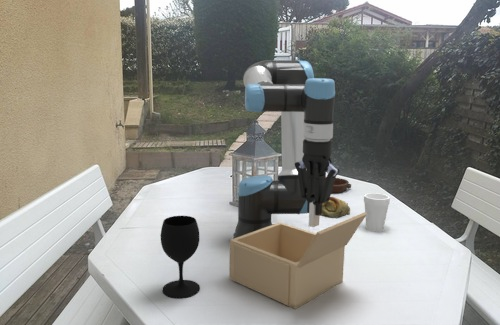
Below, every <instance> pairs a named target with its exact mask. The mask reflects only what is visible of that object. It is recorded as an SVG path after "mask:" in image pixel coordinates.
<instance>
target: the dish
mask: <svg viewBox="0 0 500 325" xmlns="http://www.w3.org/2000/svg"><path fill="white" fill-rule="evenodd" d="M326 177H327V176H326ZM326 177H325V179H324V184H325V181H326ZM351 188H352V184H351V183H350V182H349V180H347V179H345V178H340V177H336V178H335V181H334V185H333V188H332V192H331V194H336V193H339V194H340V193H342V192H344V191H346V189H351Z"/></svg>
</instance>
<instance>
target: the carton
mask: <svg viewBox="0 0 500 325" xmlns="http://www.w3.org/2000/svg"><path fill="white" fill-rule="evenodd" d="M316 234H317V232H316V233H315V232H313V231H309V230H307V229H302V228H299V227H296V226H293V225H289V224H287V223H284V222H277V223H274V224H273V223H272V225H271V226H268V227H265V228H262V229H259V230H257V231H254V232H251V233H248V234H245V235H243V236H240V237H237V238H234V239H233V238H232V239H229V271H228V272H229V276H228V277H229V279H230V280H231V281H234V282H236V283H237V284H239V285H242V286H245V287H246V288H249V289H250V290H253V291H255V292H256V293H257V292H258V293H259V294H261V295H264V296H265V297H267V298H270V299H272V300H275V301H276V302H279V303H281V304H283V305H286V306H288V307H289V308H292V309H294V310H296V309H298V308H300V307H301V306H304V305H305V304H307V303H309V302H310V301H312V300H314V299H315V298H317V297H319V296H320V295H322V294H324V293H325V292H327V291H329V290H331V289H333V288H335V287H337V285H339V284H341V283H343V281H344V266H345V265H344V264H345V247H346V245H345V246H343V247H341V248H339V249H337V250H335V251H333V252H331V253H329V254H327V255H325V256H323V257H321V258H319V259H316V260H314V261H312V262H310V263H308V264H306V265H304V266H302V267H300V268H299V267H298V266H297V265H298V264H299V262H300V260H301V259H302V257H303V255H304V254H305V252H306V250H307V249H308V247H309V245H310V244H311V242H312V240H313V239H314V237H315V235H316Z"/></svg>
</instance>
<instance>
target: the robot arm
mask: <svg viewBox="0 0 500 325" xmlns="http://www.w3.org/2000/svg"><path fill="white" fill-rule="evenodd" d="M313 69H314V68H313V67H312V65H311V63H310V62H309V61H307V60H299V59H294V60H293V59H292V60H287V59H286V60H285V59H284V60H282V59H281V60H279V59H275V60H273V59H268V60H260V61H258V62H255V63H253V64H251V65H250V66H249V67H248V68H247V69H245V71H244V74H243V76H242V79H243V80H242V81H243V85H244V87H245V88H244V107H245V110H246V111H247V112H256V113H260V112H261V113H263V112H264V113H267V112H268V113H270V112H271V113H273V112H274V113H276V112H279V113H281V115H280V118H281V120H280V121H281V123H280V124H281V129H280V130H281V171H279V173H278V174H277V180H273V177H272V176H271V175H268V174H267V175H264V174H260V175H253V176H248V177H245V178H243V179H241V180H240V181H239V184H238V192H237V197H238V207H237V208H238V212H237V216H238V217H237V218H238V219H237V224H236V227H235V229H234V232H233V236H232V239H234V238H237V237H240V236H243V235H245V234H248V233H251V232H254V231H257V230H259V229H262V228H265V227H268V226H271V225H273V222H272V216H273V215H300V214H301V215H303V214H308V227H311V228H315V227H318V226H319V225H320V216H321V214H322V204H323V203H325V202H328V201H329V199H330V197H332V193H331V192H332V188H333V185H334V181H335V178H337V176H338V174H339V173H340V168H338V167H335V166H334V165H333V161H332V159H331V156H332V151H333V141H332V139H333V137H334V113H335V96H336V89H335V88H336V87H335V86H336V84H335V83H336V82H335V80H334V79H332V78H322V77H317V78H315V74H314V70H313ZM326 174H327V175H326ZM325 177H326V181H325V184H324V179H325Z"/></svg>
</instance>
